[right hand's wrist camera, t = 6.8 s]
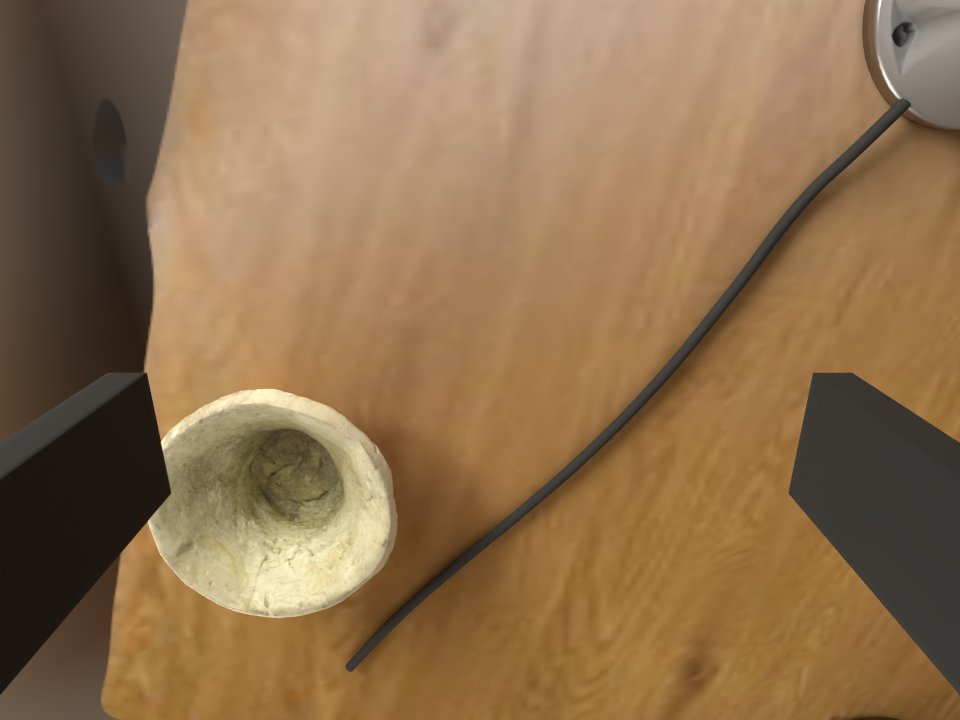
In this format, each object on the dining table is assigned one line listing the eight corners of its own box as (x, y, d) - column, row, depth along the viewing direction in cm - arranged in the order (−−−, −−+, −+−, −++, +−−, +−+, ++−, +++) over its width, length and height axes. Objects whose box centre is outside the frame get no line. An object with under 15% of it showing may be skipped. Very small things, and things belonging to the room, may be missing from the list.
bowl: (287, 506, 57) (111, 520, 47) (370, 355, 50) (187, 333, 40) (345, 639, 49) (148, 691, 39) (454, 480, 42) (250, 492, 32)
